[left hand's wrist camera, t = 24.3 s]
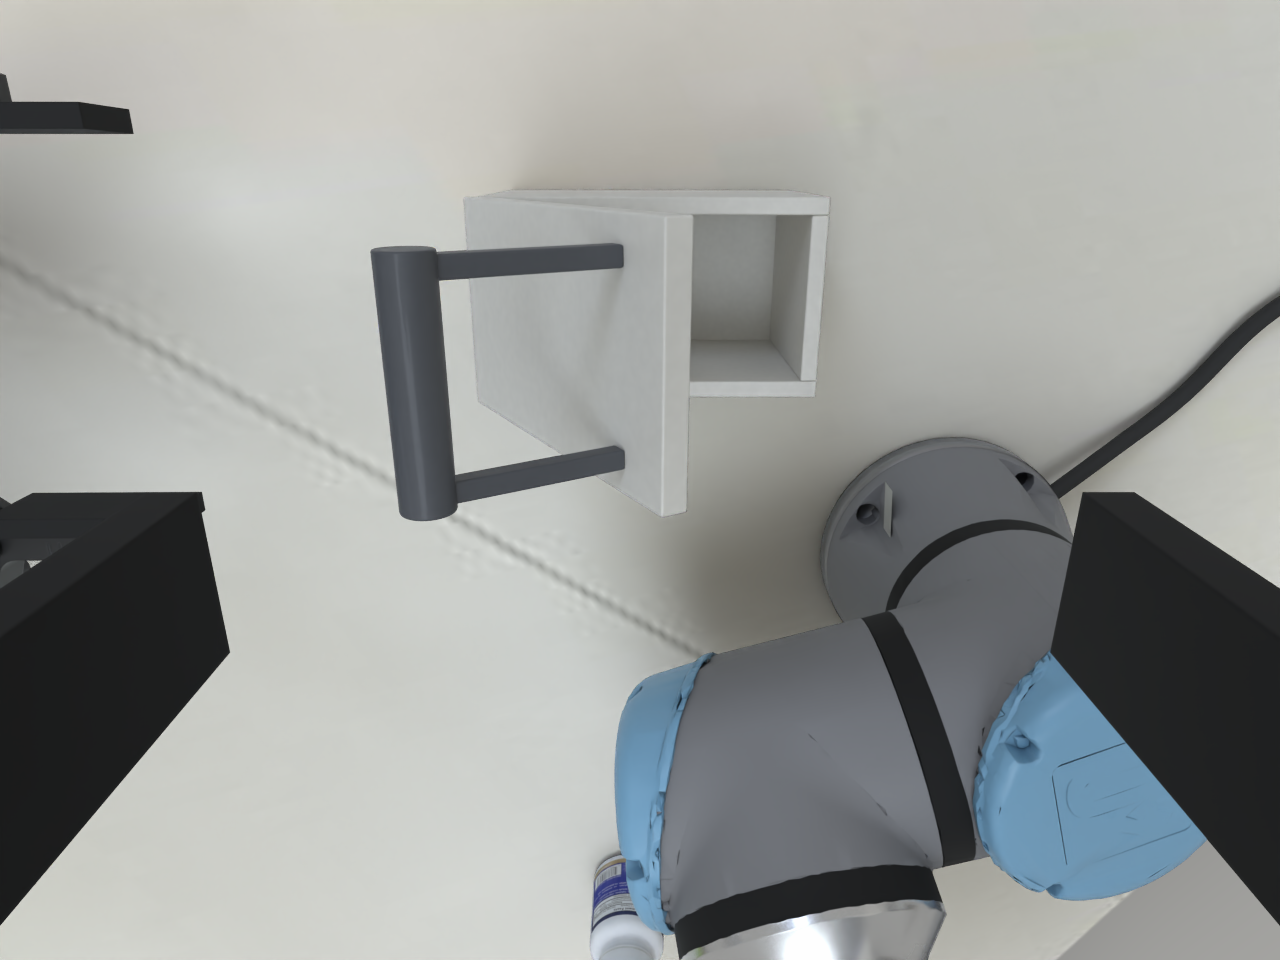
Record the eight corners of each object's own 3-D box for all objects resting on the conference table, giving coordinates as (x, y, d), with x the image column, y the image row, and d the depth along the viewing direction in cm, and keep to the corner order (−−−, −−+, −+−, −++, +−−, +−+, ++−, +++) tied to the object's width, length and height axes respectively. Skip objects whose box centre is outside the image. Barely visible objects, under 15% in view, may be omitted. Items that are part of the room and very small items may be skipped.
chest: (789, 189, 46) (831, 196, 36) (779, 350, 50) (815, 397, 40) (511, 189, 46) (475, 196, 36) (519, 350, 50) (489, 397, 39)
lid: (694, 214, 23) (396, 224, 19) (688, 512, 26) (431, 575, 22) (484, 196, 36) (279, 200, 32) (496, 399, 39) (311, 425, 35)
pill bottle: (661, 903, 65) (665, 1011, 57) (594, 904, 65) (588, 1012, 57) (661, 850, 63) (664, 955, 55) (592, 852, 63) (585, 956, 55)
